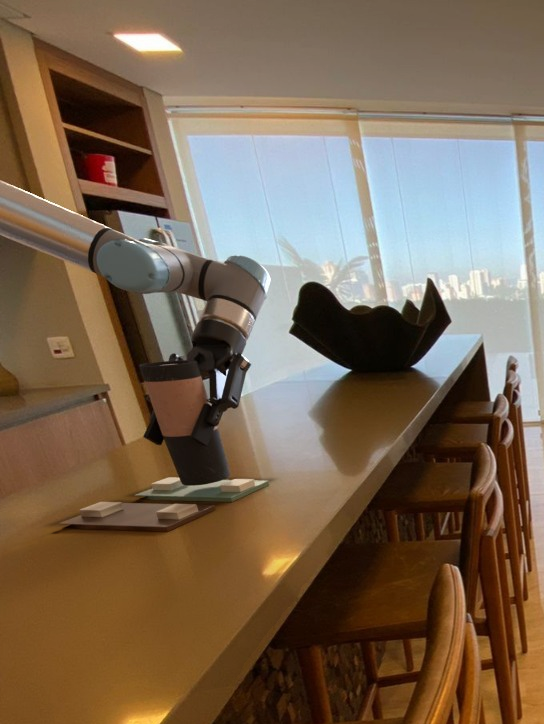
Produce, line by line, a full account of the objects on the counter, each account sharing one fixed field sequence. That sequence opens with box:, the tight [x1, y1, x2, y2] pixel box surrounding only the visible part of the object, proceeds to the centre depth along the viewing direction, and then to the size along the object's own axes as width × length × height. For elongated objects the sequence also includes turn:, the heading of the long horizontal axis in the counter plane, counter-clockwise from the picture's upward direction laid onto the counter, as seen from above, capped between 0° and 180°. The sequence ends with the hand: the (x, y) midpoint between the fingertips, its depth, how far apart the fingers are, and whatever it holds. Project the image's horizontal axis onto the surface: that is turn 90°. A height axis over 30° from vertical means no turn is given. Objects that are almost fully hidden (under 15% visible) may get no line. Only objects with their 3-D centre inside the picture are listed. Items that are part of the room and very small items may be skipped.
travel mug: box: [139, 360, 231, 486], centre depth 96 cm, size 8×8×20 cm
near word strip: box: [59, 501, 216, 533], centre depth 88 cm, size 18×9×2 cm, turn 85°
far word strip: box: [135, 476, 270, 503], centre depth 100 cm, size 18×9×2 cm, turn 85°
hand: (175, 441), depth 93 cm, fingers closed on travel mug, 8 cm apart
